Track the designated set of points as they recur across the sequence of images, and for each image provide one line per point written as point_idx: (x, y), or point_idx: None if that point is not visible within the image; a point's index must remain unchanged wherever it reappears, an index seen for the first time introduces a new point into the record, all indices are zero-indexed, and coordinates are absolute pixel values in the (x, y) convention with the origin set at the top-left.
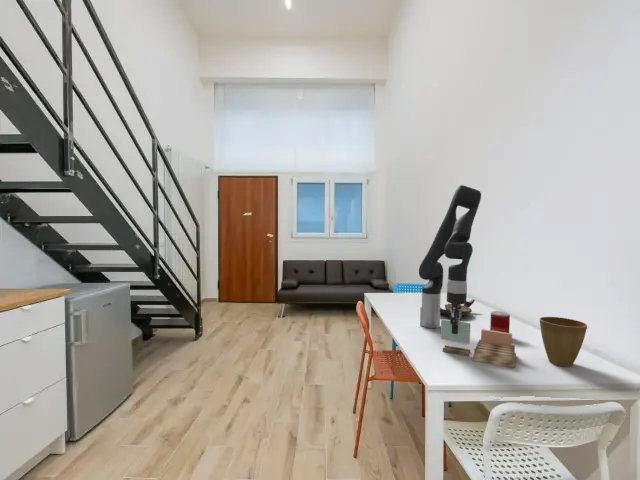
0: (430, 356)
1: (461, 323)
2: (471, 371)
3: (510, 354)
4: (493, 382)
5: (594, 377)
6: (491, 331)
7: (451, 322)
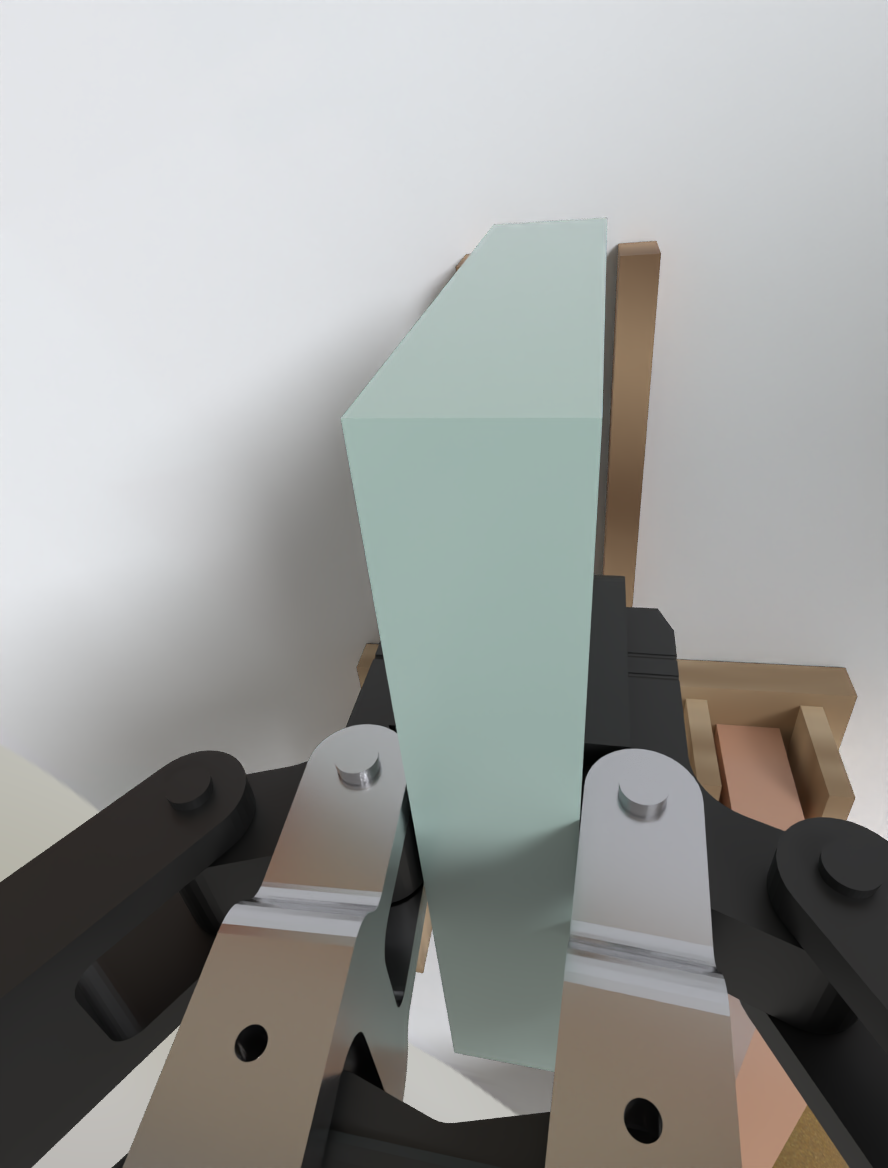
0: (92, 150)
1: (443, 946)
2: (92, 654)
3: (420, 962)
4: (47, 770)
5: (548, 1097)
6: (751, 1071)
7: (126, 823)
